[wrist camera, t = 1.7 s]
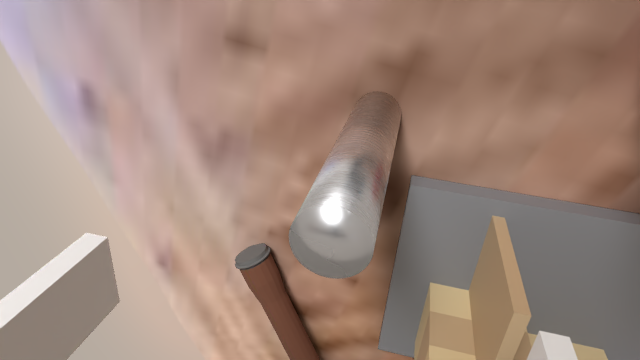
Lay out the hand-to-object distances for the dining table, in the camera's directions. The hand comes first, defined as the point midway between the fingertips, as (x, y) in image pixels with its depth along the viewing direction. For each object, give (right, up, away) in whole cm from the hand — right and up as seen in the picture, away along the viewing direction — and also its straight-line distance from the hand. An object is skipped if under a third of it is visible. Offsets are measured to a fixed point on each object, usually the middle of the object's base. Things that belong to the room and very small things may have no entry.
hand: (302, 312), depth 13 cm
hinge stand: (+16, -4, +19) cm, 25 cm away
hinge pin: (+4, +8, +16) cm, 18 cm away
